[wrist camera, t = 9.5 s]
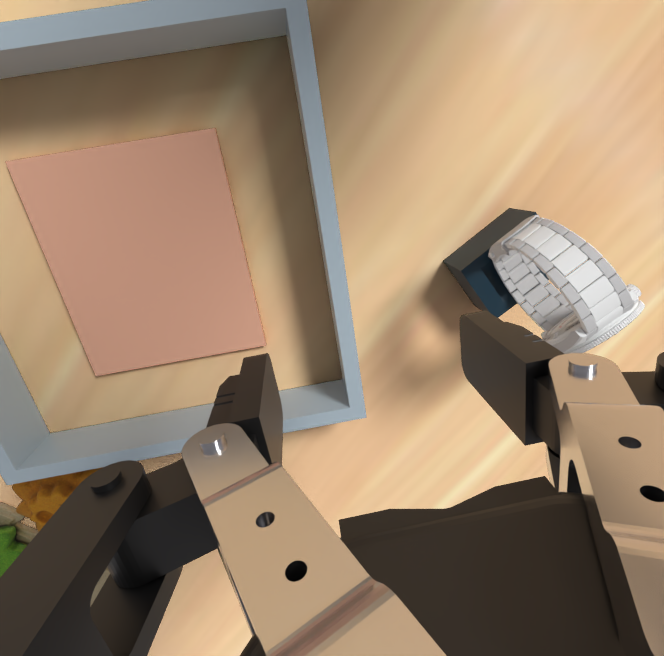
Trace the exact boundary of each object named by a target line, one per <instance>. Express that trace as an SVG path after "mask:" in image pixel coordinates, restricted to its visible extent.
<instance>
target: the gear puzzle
mask: <svg viewBox="0 0 664 656" xmlns="http://www.w3.org/2000/svg"><path fill="white" fill-rule="evenodd" d="M101 468H103V467H101ZM101 468H96V469H91V470H86V471H80V472H75V473H70V474H64V475H59V476H54V477H48V478H43V479H38V480H33V481H27V482H22V483H17V484H13V486H12V489H13V490H14V492H15V493H16V494H17V495H18V496H19V497H20V498H21V499H23V501H22V502H21V503H20V504H19V505H18V507H17V508H15V507H12V506H10V505H7V504H5V503H2V502H0V577H1V576H2V575H3V574H4V572H5V571H6V570H7V569H8V568H9V567H10V565H11V564H12V563H13V562H14V561H15V559H16V558H17V557H18V556H19V555H20V554H21V552H22V551H23V550H24V549H25V548H26V546H27V545H28V544H29V543H30V542H31V541H32V539H33V538H34V537H35V536H36V535H37V533H38V532H39V531H40V530H41V529H42V528H43V526H44V525H45V524H46V523H47V522H48V520H49V519H50V518H51V517H52V516H53V515H54V513H55V512H56V511H57V510H58V509H59V507H60V506H61V505H62V504H63V503H64V502H65V500H66V499H67V498H68V497H69V496H70V495H71V493H72V492H73V491H74V490H75V489H76V487H77V486H78V485H79V484H80V483H81V482H82V481H83V480H85V479H86V478H87V477H88V476H90V475H91V474H93V473H94V472H96V471H97V470H99V469H101ZM24 517H28V518H30V520H31V521H33V522H36V528H37V529H34V528H32V527H29V526H27V525H25V524H22V523H21V522H20V521H21V520H22V519H23V518H24ZM109 575H110V572H109V570H108V568H106V570H105V571H104V573H103V575H102V576H101V578H100V580H99V581H98V583H97V585H96V587H95V589H94V591H93V594H92V598H91V603H90V607H91V605H92V604H93V602H94V600H95V598H96V597H97V595H98V593H99V592H100V590H101V588H102V587H103V585H104V583H105V581H106V580H107V578H108V576H109Z"/></svg>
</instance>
